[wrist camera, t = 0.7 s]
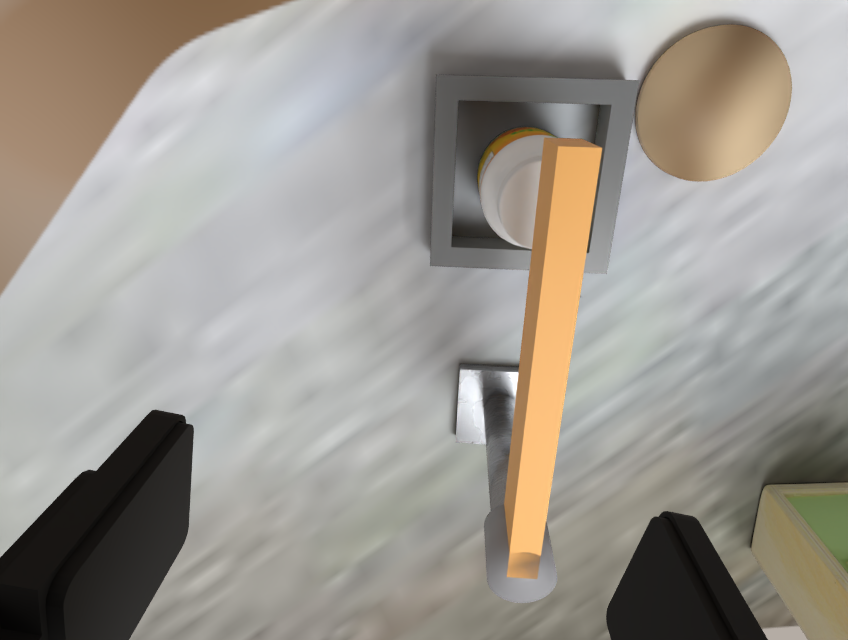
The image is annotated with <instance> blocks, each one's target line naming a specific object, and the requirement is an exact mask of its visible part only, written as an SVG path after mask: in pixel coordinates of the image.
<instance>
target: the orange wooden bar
mask: <svg viewBox="0 0 848 640" xmlns="http://www.w3.org/2000/svg"><path fill="white" fill-rule="evenodd" d="M601 153H602V147H599V146H597V145H595V144H592V143H590V142H588V141H586V140H583V139H571V138H544V143H543V152H542V161H541V170H540V180H539V189H538V198H537V207H536V216H535V225H534V234H533V244H532V253H531V262H530V271H529V280H528V289H527V299H526V308H525V317H524V326H523V335H522V344H521V354H520V363H519V372H518V381H517V390H516V399H515V409H514V418H513V427H512V436H511V445H510V454H509V464H508V473H507V482H506V491H505V500H504V504H502V505H499V506H497V507H496V508H494V509H493V510H492V511H491V512H490V513H489V514H488V515H487V517H486V519H485V523H484V533H485V551H486V570H487V582H488V585H489V587H490V589H491V590H492V591H493V592H494V593H495V594H496V595H497V596H499V597H500V598H502V599H505V600H507V601H511V602H516V603H528V602H533V601H537V600H540V599H542V598H544V597H545V596H547V595H548V594H549V593H550V592H551V591H552V590H553V589H554V587H555V585H556V582H557V572H556V567H555V562H554V557H553V552H552V547H551V541H550V536H549V531H548V526H547V522H546V518H547V511H548V505H549V498H550V491H551V485H552V478H553V471H554V465H555V458H556V451H557V445H558V438H559V432H560V425H561V418H562V412H563V405H564V398H565V392H566V385H567V378H568V372H569V365H570V359H571V352H572V345H573V339H574V332H575V325H576V319H577V312H578V305H579V299H580V292H581V286H582V279H583V272H584V266H585V259H586V252H587V246H588V239H589V233H590V226H591V219H592V213H593V206H594V199H595V193H596V186H597V179H598V173H599V166H600V160H601Z"/></svg>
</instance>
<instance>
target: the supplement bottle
mask: <svg viewBox="0 0 848 640" xmlns="http://www.w3.org/2000/svg"><path fill="white" fill-rule="evenodd" d="M544 138H558V137H556V136H554V135H552V134H550V133H549V132H547V131H544V130H542V129H539V128H535V127H517V128H513V129H510V130H507V131H505V132H503V133H501V134H500V135H498V136H497V137H496V138H495V139H494V140H493V141H492V142H491V143H490V144H489V145H488V146H487V148H486V149H485V151H484V153H483V155H482V157H481V159H480V162H479V166H478V172H477V182H478V189H479V194H480V200H481V205H482V210H483V213H484V216H485V218H486V220H487V222H488V223H489V225H490V226H491V228H492V229H493V230H494V231H495V232H496V233H497V234H498V235H499V236H500V237H501V238H503V239H504V240H506V241H507V242H509V243H511V244H514V245H517V246H520V247H525V248H529V249H532V244H533V234H534V225H535V216H536V207H537V198H538V189H539V180H540V170H541V161H542V152H543V143H544Z"/></svg>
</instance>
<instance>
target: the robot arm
mask: <svg viewBox="0 0 848 640" xmlns="http://www.w3.org/2000/svg"><path fill="white" fill-rule="evenodd" d="M193 434H194V428H193V425H190V424H186V419H185V416H183V415H179V414H174V413H169V412H164V411H159V410H152V411H151V412H150V413H149V414H148V415H147V416H146V417H145V418H144V419H143V420H142V421H141V423H140V424H139V425H138V426H137V427H136V428H135V429H134V430H133V431H132V432H131V433H130V435H129V436H128V437H127V438H126V439H125V440H124V441H123V442H122V443H121V444H120V445H119V447H118V448H117V449H116V450H115V451H114V452H113V453H112V454H111V455H110V456H109V458H108V459H107V460H106V461H105V462H104V463H103V464H102V465H101V466H100V467H99V468H98V470H97V471H93V470H87V471H84V472H82V473H81V474H80V475H79V476H78V477H77V478H75V480H74V481H73V482H72V483H71V484H70V485H69V486H68V487H67V488H66V489H65V490H64V491H63V492H62V493H61V494H60V495H59V496H58V497H57V498H56V500H55V501H54V502H53V503H52V504H51V505H50V506H49V507H48V508H47V509H46V510H45V511H44V512H43V513H42V514H41V515H40V516H39V517H38V519H37V520H36V521H35V522H34V523H33V524H32V525H31V526H30V527H29V528H28V529H27V530H26V531H25V532H24V533H23V534H22V535H21V536H20V537H19V539H18V540H17V541H16V542H15V543H14V544H13V545H12V546H11V547H10V548H9V549H8V550H7V551H6V552H5V553H4V554H3V555H2V556H1V557H0V640H129V639H130V637H131V635H132V633H133V632H134V630H135V628H136V627H137V625H138V623H139V621H140V620H141V618H142V616H143V614H144V613H145V611H146V609H147V607H148V606H149V604H150V602H151V600H152V599H153V597H154V595H155V593H156V592H157V590H158V588H159V587H160V585H161V583H162V581H163V580H164V578H165V576H166V574H167V573H168V571H169V569H170V567H171V566H172V564H173V562H174V560H175V559H176V557H177V555H178V553H179V552H180V550H181V548H182V546H183V544H184V542H185V539H186V536H187V533H188V527H189V510H190V491H191V472H192V453H193ZM606 620H607V626H608V630H609V633H610V637H611V640H768V639H767V638H766V636H765V634H764V632H763V631H762V629H761V627H760V626H759V624H758V622H757V620H756V619H755V617H754V615H753V614H752V612H751V610H750V608H749V607H748V605H747V603H746V602H745V600H744V598H743V596H742V595H741V593H740V591H739V590H738V588H737V586H736V584H735V583H734V581H733V579H732V577H731V576H730V574H729V572H728V571H727V569H726V567H725V565H724V564H723V562H722V560H721V559H720V557H719V555H718V553H717V552H716V550H715V548H714V547H713V545H712V543H711V541H710V540H709V538H708V536H707V535H706V533H705V531H704V529H703V528H702V526H701V524H700V523H699V521H698V520H697V519H696V518H695V517H693V516H689V515H684V514H679V513H674V512H668V511H664V512H663V513H661V514H660V516H659V517H653V518H652V519H651V521H650V523H649V525H648V527H647V529H646V531H645V533H644V535H643V537H642V539H641V541H640V543H639V545H638V547H637V549H636V551H635V553H634V555H633V557H632V559H631V561H630V563H629V565H628V567H627V569H626V571H625V573H624V575H623V577H622V579H621V581H620V583H619V585H618V587H617V589H616V591H615V593H614V595H613V597H612V599H611V601H610V603H609V606H608V608H607V615H606Z"/></svg>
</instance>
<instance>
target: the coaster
mask: <svg viewBox="0 0 848 640" xmlns="http://www.w3.org/2000/svg"><path fill="white" fill-rule="evenodd" d="M791 93H792V82H791V74H790V69H789V66H788V63H787V60H786V58H785V56H784V54H783V53H782V51H781V49H780V48H779V47H778V46H777V44H776V43H775V42H774V41H773V40H772V39H770V38H769V37H768V36H767V35H765V34H763V33H762V32H760V31H758V30H756V29H753V28H750V27H747V26H743V25H733V24H731V25H719V26H713V27H709V28H705V29H702V30H699V31H696V32H694V33H692V34H690V35H687V36H686V37H684V38H682V39H681V40H679V41H678V42H676V43H675V44H674V45H672V46H671V47H670V48H669V49H667V50H666V51H665V52H664V53H663V54H662V55H661V56H660V58H659V59H658V60H657V61H656V63H655V64H654V65H653V66H652V68H651V70H650V71H649V73H648V74H647V76H646V78H645V80H644V82H643V84H642V87H641V90H640V93H639V96H638V100H637V104H636V114H635V119H636V130H637V135H638V138H639V142H640V144H641V146H642V148H643V150H644V152H645V153H646V155H647V157H648V158H649V159H650V160H651V161H652V162H653V163H654V164H655V165H656V166H657V167H658V168H660V169H661V170H663V171H664V172H666V173H668V174H670V175H673V176H675V177H677V178H680V179H684V180H688V181H711V180H717V179H720V178H724V177H727V176H729V175H732V174H734V173H736V172H738V171H740V170H742V169H744V168H745V167H747V166H748V165H750V164H751V163H752V162H754V161H755V160H756V159H757V158H758V157H760V156H761V155H762V154H763V153H764V152H765V150H766V149H767V148H768V147H769V146H770V145H771V143H772V142H773V141H774V139H775V138H776V136H777V135H778V133H779V131H780V130H781V128H782V126H783V124H784V121H785V119H786V116H787V113H788V110H789V106H790V101H791Z"/></svg>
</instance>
